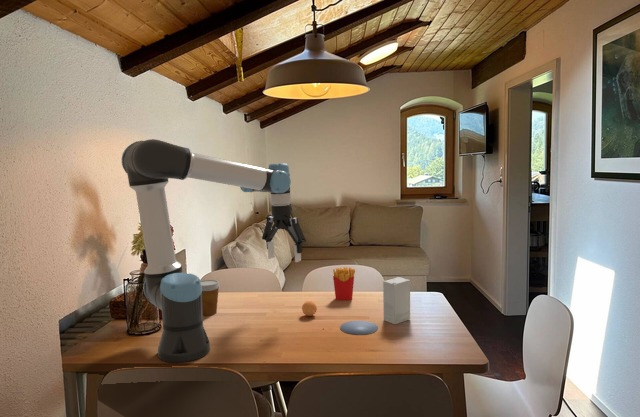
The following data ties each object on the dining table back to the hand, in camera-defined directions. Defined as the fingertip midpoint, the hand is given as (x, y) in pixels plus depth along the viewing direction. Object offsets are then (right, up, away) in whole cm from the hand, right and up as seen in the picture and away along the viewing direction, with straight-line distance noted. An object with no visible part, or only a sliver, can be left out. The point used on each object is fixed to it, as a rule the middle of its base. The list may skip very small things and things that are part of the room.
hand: (284, 259), depth 175 cm
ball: (+10, -18, -4) cm, 21 cm away
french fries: (+24, -18, +16) cm, 34 cm away
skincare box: (+41, -21, -11) cm, 47 cm away
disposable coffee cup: (-29, -21, +1) cm, 36 cm away
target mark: (+27, -21, -18) cm, 39 cm away
